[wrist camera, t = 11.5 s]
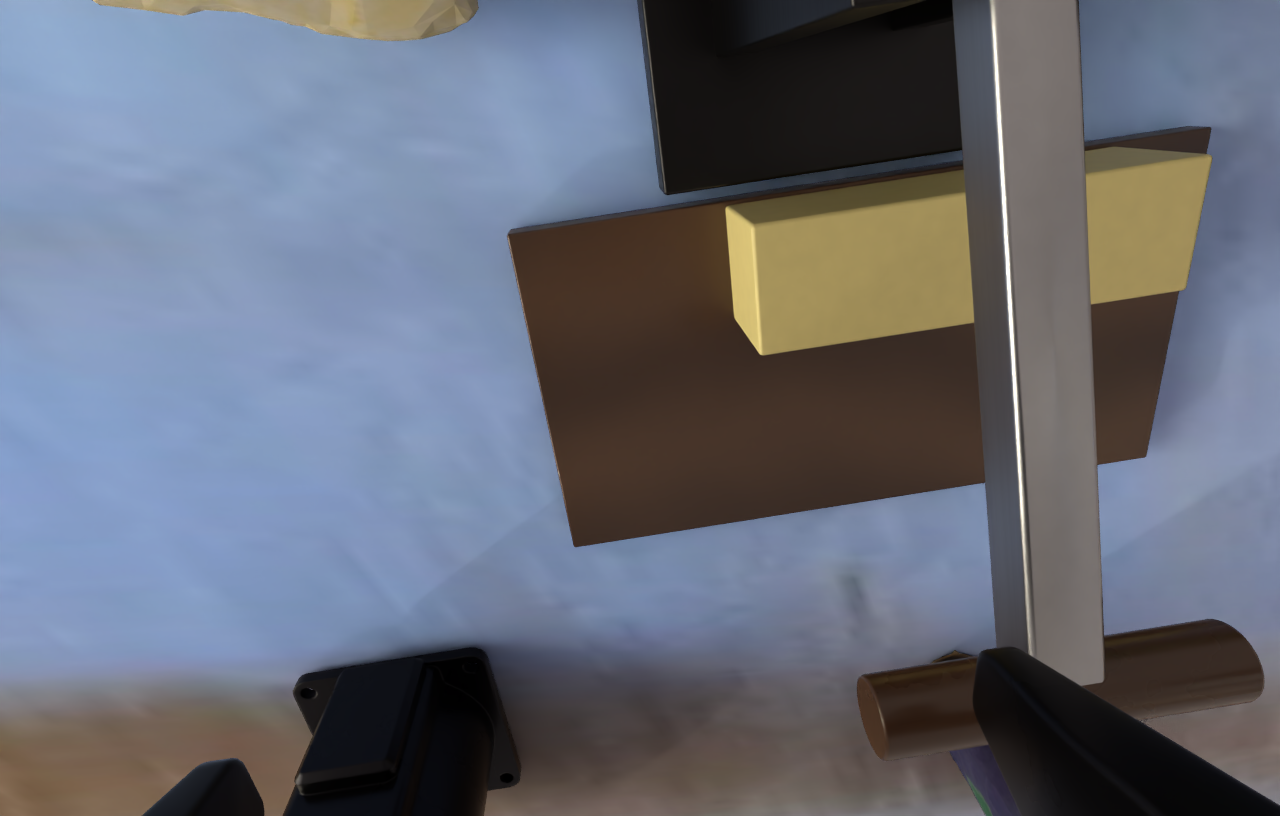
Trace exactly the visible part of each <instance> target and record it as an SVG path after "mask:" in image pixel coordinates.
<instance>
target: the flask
mask: <svg viewBox="0 0 1280 816" xmlns="http://www.w3.org/2000/svg"><path fill="white" fill-rule="evenodd" d="M968 657H974V656H970V655H969V656H968V655H967V654H960V653H958V652H957V651H956V650H954V652H953V653H952V654H950V655H947V656H942V657H941V658H939V659H937V660H935V661H933V662H932V663H937V662H943V661H949V660H956V659H962V658H968ZM949 752H950V754H951V756H952V758H953V760H954V761H955V762H956V763H957V765H958V767H959V769H960V771H961V772H962V774H963V776H964V777H965V779H966V780H967V782H968V784H969V786H970V787H971V789H972V791H973V793H974V795H975V797H976V799H977V801H978V802H979V804H980V806H981V808H982V810H983V812H984V813H985V815H986V816H1021V814H1020V812H1019V810H1018V808H1017V805H1016V803H1015V801H1014V799H1013V797H1012V795H1011V792H1010V790H1009V788H1008V786H1007V784H1006V782H1005V779H1004V777H1003V775H1002V773H1001V771H1000V769H999V766H998V764H997V762H996V760H995V758H994V755H993V753H992V751H991V749H990V747H989V745H985V746H979V747H972V748H966V749H960V750H954V751H949Z"/></svg>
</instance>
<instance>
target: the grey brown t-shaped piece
mask: <svg viewBox="0 0 1280 816" xmlns="http://www.w3.org/2000/svg"><path fill="white" fill-rule="evenodd" d="M952 5H953V20H954V34H955V49H956V64H957V78H958V93H959V107H960V122H961V136H962V151H963V166H964V180H965V195H966V209H967V224H968V239H969V253H970V268H971V282H972V297H973V311H974V326H975V341H976V355H977V370H978V384H979V399H980V413H981V428H982V443H983V457H984V472H985V486H986V501H987V515H988V530H989V545H990V559H991V574H992V588H993V603H994V618H995V632H996V647H997V648H1000V647H1008V646H1011V647H1016V648H1018V649H1020V650H1022V651H1024V652H1026V653H1027V654H1029V655H1031V656H1032V657H1034V658H1036V659H1037V660H1039V661H1041V662H1042V663H1044V664H1046V665H1047V666H1049V667H1051V668H1052V669H1054V670H1056V671H1057V672H1059V673H1061V674H1062V675H1064V676H1066V677H1067V678H1069V679H1071V680H1072V681H1074V682H1075V683H1077V684H1079V685H1080V686H1082V687H1084V688H1085V689H1087V690H1089V691H1090V692H1092V693H1094V694H1095V695H1097V696H1099V697H1100V698H1102V699H1104V700H1105V701H1107V702H1109V703H1110V704H1112V705H1114V706H1115V707H1117V708H1119V709H1120V710H1122V711H1124V712H1125V713H1127V714H1129V715H1130V716H1132V717H1134V718H1135V719H1137V720H1145V719H1151V718H1157V717H1164V716H1170V715H1176V714H1182V713H1188V712H1194V711H1201V710H1207V709H1213V708H1219V707H1225V706H1231V705H1238V704H1244V703H1249V702H1253V701H1255V700H1256V699H1257V698H1258V697H1259V696H1260V695H1261V694H1262V691H1263V688H1264V673H1263V669H1262V665H1261V663H1260V660H1259V658H1258V656H1257V654H1256V652H1255V651H1254V649H1253V648H1252V646H1251V645H1250V643H1249V642H1248V641H1247V640H1246V638H1245V637H1244V636H1243V635H1242V634H1241V633H1239V632H1238V631H1237V630H1236V629H1235V628H1233V627H1232V626H1230V625H1228V624H1227V623H1224V622H1222V621H1219V620H1214V619H1205V620H1198V621H1192V622H1186V623H1180V624H1173V625H1167V626H1161V627H1155V628H1149V629H1142V630H1136V631H1130V632H1124V633H1117V634H1111V635H1105V636H1104V623H1103V598H1102V573H1101V548H1100V523H1099V498H1098V473H1097V448H1096V423H1095V398H1094V372H1093V347H1092V322H1091V297H1090V272H1089V247H1088V222H1087V197H1086V172H1085V147H1084V121H1083V96H1082V71H1081V46H1080V21H1079V0H952ZM977 658H978V656H974V657H968V658H962V659H956V660H949V661H943V662H937V663H931V664H925V665H918V666H912V667H906V668H900V669H893V670H887V671H881V672H875V673H869V674H863V675H861V676H859V678H858V681H857V697H858V704H859V709H860V714H861V718H862V721H863V725H864V728H865V731H866V734H867V736H868V739H869V741H870V744H871V746H872V748H873V750H874V751H875V753H876V754H877V756H878V757H879V758H880V759H881V760H883V761H892V760H898V759H905V758H911V757H917V756H923V755H929V754H935V753H942V752H948V751H954V750H960V749H966V748H972V747H979V746H985V745H988V742H987V740H986V738H985V736H984V734H983V732H982V729H981V727H980V725H979V723H978V721H977V718H976V715H975V712H974V708H973V701H972V699H973V689H974V680H975V672H976V664H977Z"/></svg>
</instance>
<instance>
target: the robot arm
mask: <svg viewBox="0 0 1280 816" xmlns="http://www.w3.org/2000/svg"><path fill="white" fill-rule="evenodd" d="M467 662H475V663H477V664H469V663H467ZM309 688H311V689H314V690H311V689H309ZM293 695H294V698H295V700H296V702H297V704H298V706H299V708H300V710H301V712H302V714H303V716H304V719H305V721H306V723H307V725H308V727H309V729H310V731H311V733H312V735H313V737H312V739H311V741H310V744H309V746H308V748H307V751H306V753H305V755H304V758H303V760H302V762H301V764H300V767H299V769H298V771H297V774H296V776H295V781H294V782H295V784H296V785H295V787H294V790H293V792H292V794H291V797H290V799H289V802H288V804H287V806H286V809H285V811H284V813H283V816H484V812H485V804H486V797H487V791H488V790H494V789H500V788H507V787H511V786H514V785H516V784H517V783H518V782H519V781H520V776H521V764H520V761H519V758H518V755H517V751H516V748H515V745H514V742H513V738H512V735H511V732H510V728H509V725H508V722H507V719H506V715H505V712H504V709H503V706H502V702H501V699H500V696H499V692H498V689H497V686H496V683H495V679H494V676H493V673H492V669H491V666H490V663H489V660H488V656H487V655H486V653H485V652H484V651H483V650H481V649H478V648H464V649H458V650H451V651H445V652H439V653H432V654H426V655H420V656H414V657H407V658H401V659H395V660H389V661H382V662H376V663H370V664H363V665H357V666H351V667H345V668H338V669H332V670H326V671H319V672H313V673H307V674H304V675H302V676H301V677H300V678H299V679H298V681H297V683H296V685H295V687H294V690H293ZM972 701H973V708H974V712H975V715H976V718H977V721H978V723H979V725H980V727H981V729H982V732H983V734H984V736H985V738H986V740H987V742H988V745H989V747H990V749H991V751H992V753H993V755H994V758H995V760H996V762H997V764H998V766H999V769H1000V771H1001V773H1002V775H1003V777H1004V779H1005V782H1006V784H1007V786H1008V788H1009V790H1010V792H1011V795H1012V797H1013V799H1014V801H1015V803H1016V805H1017V808H1018V810H1019V812H1020V814H1021V816H1280V805H1278V804H1276V803H1275V802H1273V801H1271V800H1270V799H1268V798H1266V797H1265V796H1263V795H1261V794H1260V793H1258V792H1256V791H1255V790H1253V789H1251V788H1250V787H1248V786H1247V785H1245V784H1243V783H1242V782H1240V781H1238V780H1237V779H1235V778H1233V777H1232V776H1230V775H1228V774H1227V773H1225V772H1223V771H1222V770H1220V769H1218V768H1217V767H1215V766H1213V765H1212V764H1210V763H1208V762H1207V761H1205V760H1203V759H1202V758H1200V757H1198V756H1197V755H1195V754H1193V753H1192V752H1190V751H1188V750H1187V749H1185V748H1183V747H1182V746H1180V745H1178V744H1177V743H1175V742H1173V741H1172V740H1170V739H1168V738H1167V737H1165V736H1163V735H1162V734H1160V733H1159V732H1157V731H1155V730H1154V729H1152V728H1150V727H1149V726H1147V725H1145V724H1144V723H1142V722H1140V721H1139V720H1137V719H1135V718H1134V717H1132V716H1130V715H1129V714H1127V713H1125V712H1124V711H1122V710H1120V709H1119V708H1117V707H1115V706H1114V705H1112V704H1110V703H1109V702H1107V701H1105V700H1104V699H1102V698H1100V697H1099V696H1097V695H1095V694H1094V693H1092V692H1090V691H1089V690H1087V689H1085V688H1084V687H1082V686H1080V685H1079V684H1077V683H1075V682H1074V681H1072V680H1071V679H1069V678H1067V677H1066V676H1064V675H1062V674H1061V673H1059V672H1057V671H1056V670H1054V669H1052V668H1051V667H1049V666H1047V665H1046V664H1044V663H1042V662H1041V661H1039V660H1037V659H1036V658H1034V657H1032V656H1031V655H1029V654H1027V653H1026V652H1024V651H1022V650H1020V649H1018V648H1016V647H1011V646H1008V647H1000V648H993V649H987V650H983V651H981V652H980V654H979V655H978V658H977V664H976V672H975V680H974V689H973V699H972ZM142 816H264V805H263V801H262V799H261V797H260V795H259V793H258V791H257V789H256V787H255V785H254V783H253V781H252V779H251V777H250V775H249V773H248V771H247V769H246V767H245V765H244V764H243V762H242V761H240V760H238V759H236V758H230V759H223V760H216V761H210V762H205V763H203V764H201V765H199V766H197V767H196V768H195V769H194V770H192V771H191V772H190V773H189V774H188V775H187V776H186V777H184V778H183V779H182V780H181V781H180V782H179V783H178V784H177V785H176V786H174V787H173V788H172V789H171V790H170V791H169V792H168V793H167V794H166V795H164V796H163V797H162V798H161V799H160V800H159V801H158V802H157V803H156V804H154V805H153V806H152V807H151V808H150V809H149V810H148V811H147V812H146V813H144V814H143V815H142Z"/></svg>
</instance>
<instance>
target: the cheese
mask: <svg viewBox="0 0 1280 816" xmlns="http://www.w3.org/2000/svg"><path fill="white" fill-rule="evenodd" d="M93 1H94V2H96V3H98V4H99V5H105V6H114V7H123V8H132V9H140V10H148V11H155V12H162V13H168V14H175V15H182V16H183V15H187V14H191V13H195V12H199V11H203V10H214V11H231V12H244V13H248V14H253V15H257V16H261V17H265V18H269V19H274V20H280V21H283V22H286V23H288V24H291V25H297V26H306V27H308V28H310V29H312V30H314V31H317V32H319V33H321V34H328V35H336V36H343V37H351V38H360V39H371V40H383V41H404V40H417V39H424V38H428V37H431V36H435V35H439V34H442V33H446V32H450V31H452V30H454V29H455V28H457V27H458V26H460V25H461V24H463V23H466V22H468V21H469V20H470V19H471V18H472V17H473V16H474V15H475V13H476V12H477V10H478V8H479V7H478V0H93Z"/></svg>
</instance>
